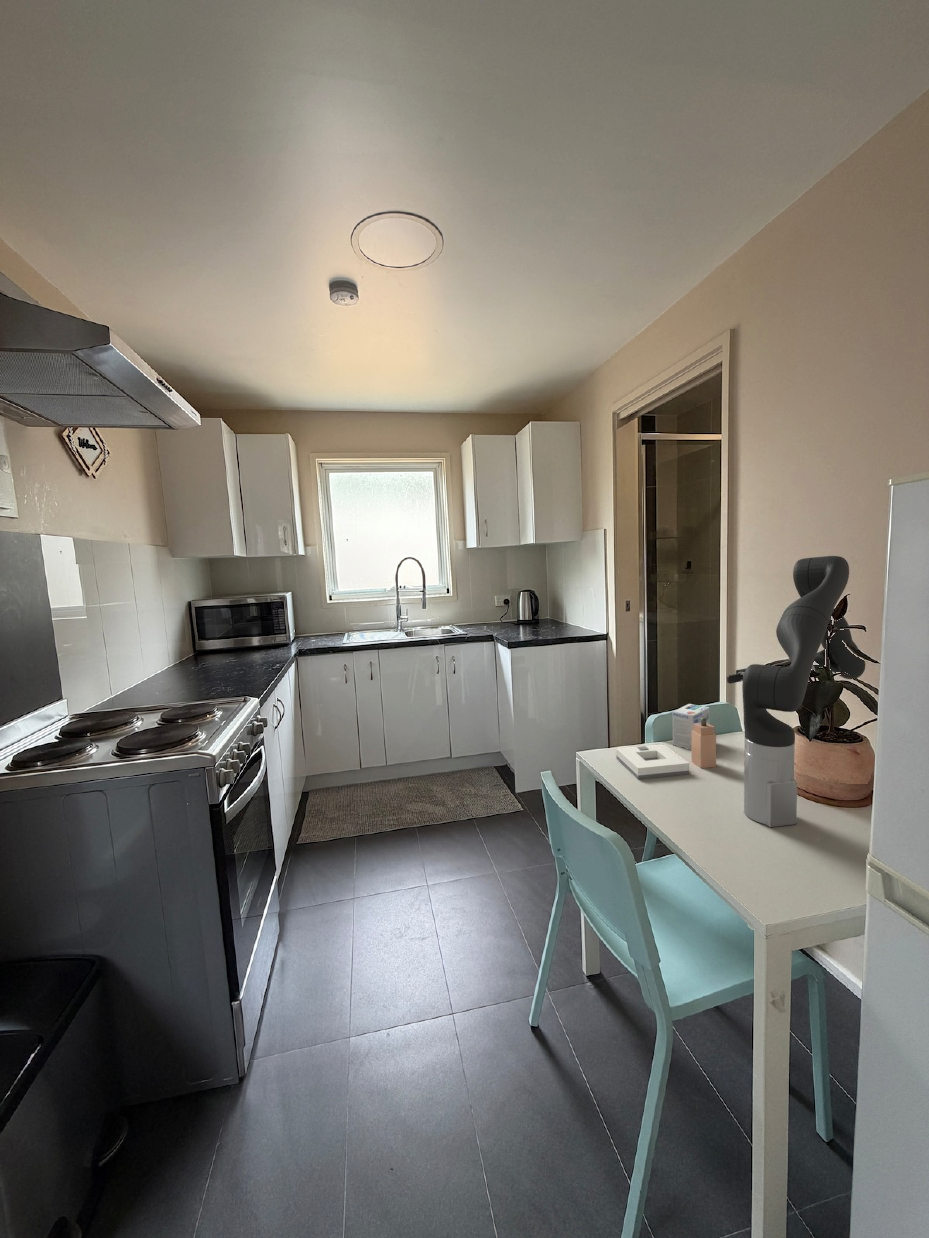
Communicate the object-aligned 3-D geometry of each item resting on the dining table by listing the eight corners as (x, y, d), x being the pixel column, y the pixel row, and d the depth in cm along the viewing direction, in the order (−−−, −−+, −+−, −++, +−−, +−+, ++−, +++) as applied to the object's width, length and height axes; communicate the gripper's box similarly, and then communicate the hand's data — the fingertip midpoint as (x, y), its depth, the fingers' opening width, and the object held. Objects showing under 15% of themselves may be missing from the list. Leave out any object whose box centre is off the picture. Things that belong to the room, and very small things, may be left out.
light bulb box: (688, 735, 160) (688, 702, 158) (710, 741, 155) (710, 706, 153) (671, 745, 153) (671, 710, 152) (693, 750, 148) (693, 715, 146)
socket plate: (689, 774, 133) (689, 761, 132) (637, 779, 131) (637, 767, 131) (663, 753, 147) (662, 743, 146) (616, 758, 145) (616, 747, 145)
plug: (716, 766, 136) (716, 719, 135) (700, 768, 136) (700, 721, 134) (706, 760, 141) (706, 714, 139) (691, 761, 140) (691, 716, 139)
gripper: (770, 654, 146) (720, 664, 144) (812, 665, 132) (756, 677, 130) (771, 679, 147) (721, 689, 145) (813, 693, 134) (758, 704, 131)
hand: (738, 683), depth 137 cm, fingers open, 8 cm apart
